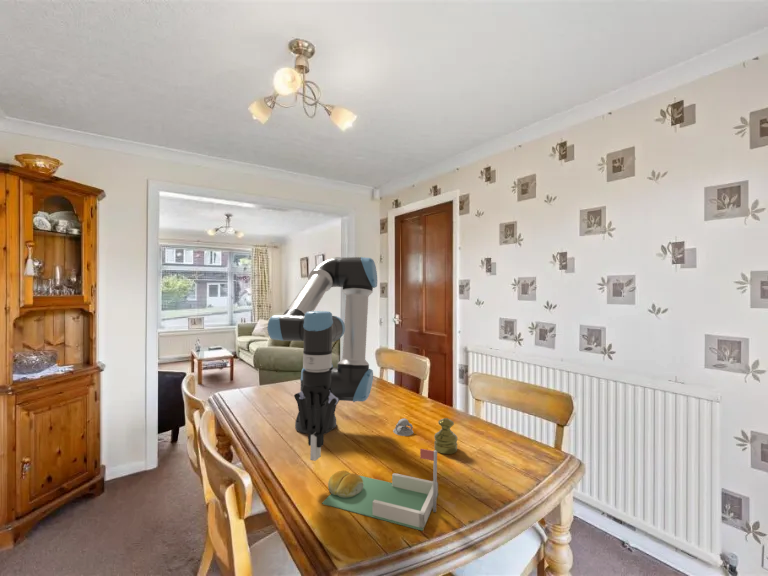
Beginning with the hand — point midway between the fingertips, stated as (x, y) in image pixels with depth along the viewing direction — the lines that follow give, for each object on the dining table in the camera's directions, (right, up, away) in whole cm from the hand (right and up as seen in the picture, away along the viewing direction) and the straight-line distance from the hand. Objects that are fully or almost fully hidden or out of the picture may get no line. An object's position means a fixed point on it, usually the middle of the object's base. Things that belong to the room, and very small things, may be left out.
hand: (315, 458), depth 95 cm
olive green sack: (+38, -8, +21) cm, 44 cm away
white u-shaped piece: (+24, -7, -9) cm, 27 cm away
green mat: (+18, -7, -7) cm, 20 cm away
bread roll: (+8, -7, -3) cm, 11 cm away
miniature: (+25, -8, +35) cm, 44 cm away
